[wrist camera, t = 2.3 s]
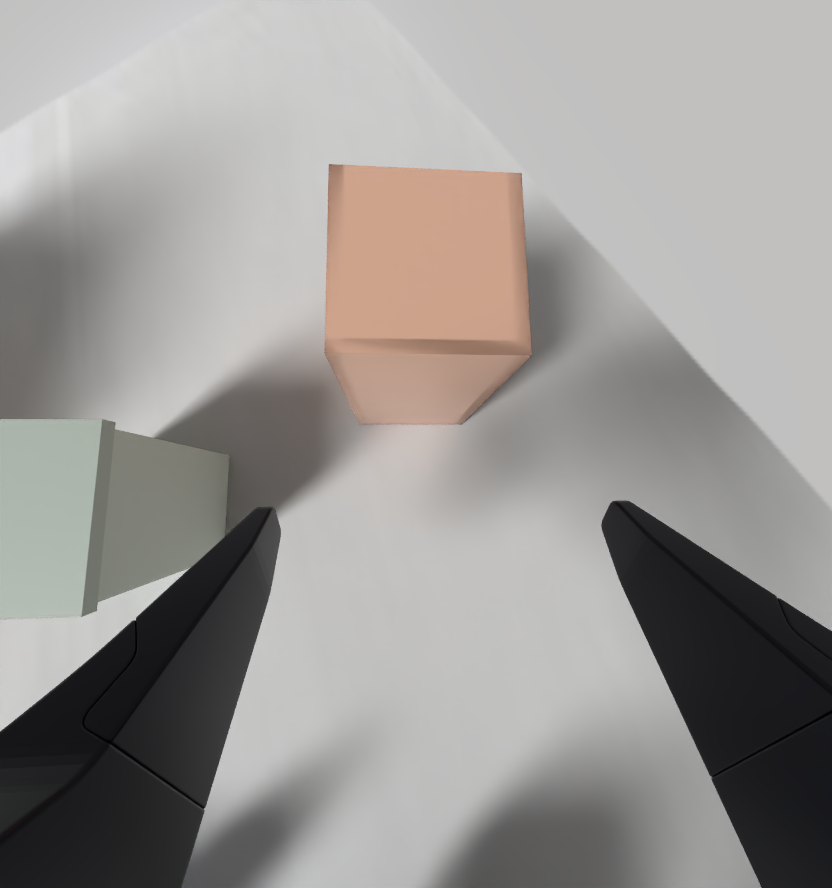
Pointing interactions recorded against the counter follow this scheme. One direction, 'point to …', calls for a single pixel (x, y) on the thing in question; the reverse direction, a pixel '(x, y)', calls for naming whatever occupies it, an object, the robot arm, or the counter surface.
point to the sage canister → (99, 513)
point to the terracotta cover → (424, 290)
